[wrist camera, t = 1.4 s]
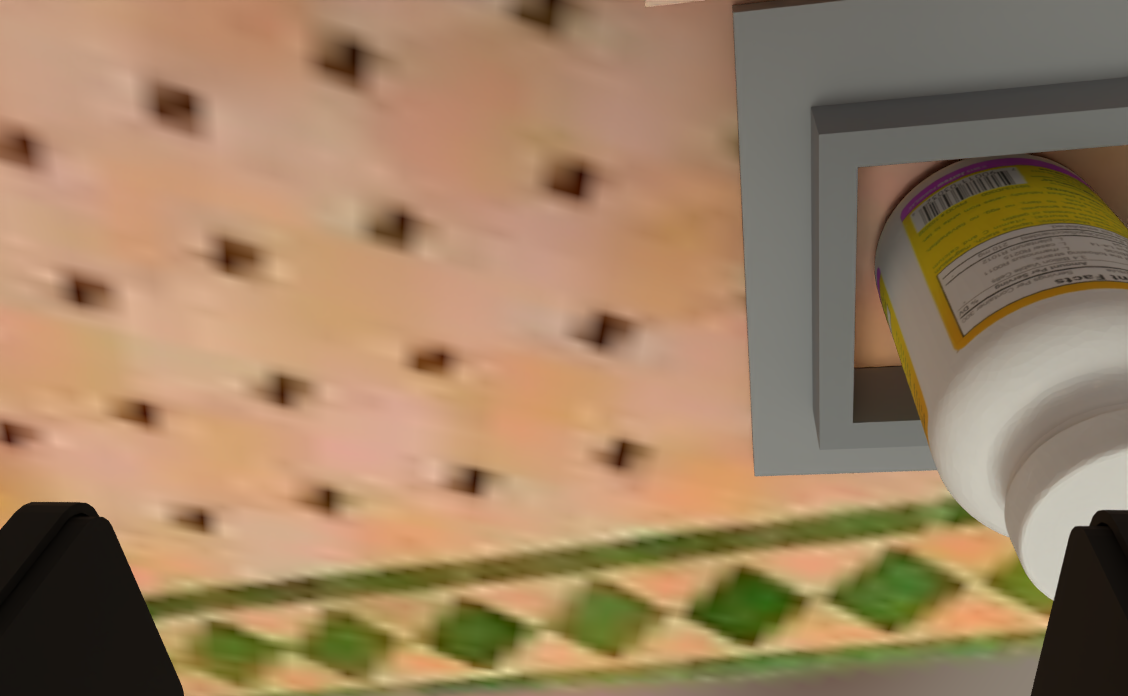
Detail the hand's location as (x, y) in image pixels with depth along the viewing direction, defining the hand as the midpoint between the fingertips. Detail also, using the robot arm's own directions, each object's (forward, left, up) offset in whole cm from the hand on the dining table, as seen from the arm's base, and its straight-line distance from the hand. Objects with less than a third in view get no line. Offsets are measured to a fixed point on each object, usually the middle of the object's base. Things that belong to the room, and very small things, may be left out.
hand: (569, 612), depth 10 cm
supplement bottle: (+7, +9, -22) cm, 25 cm away
